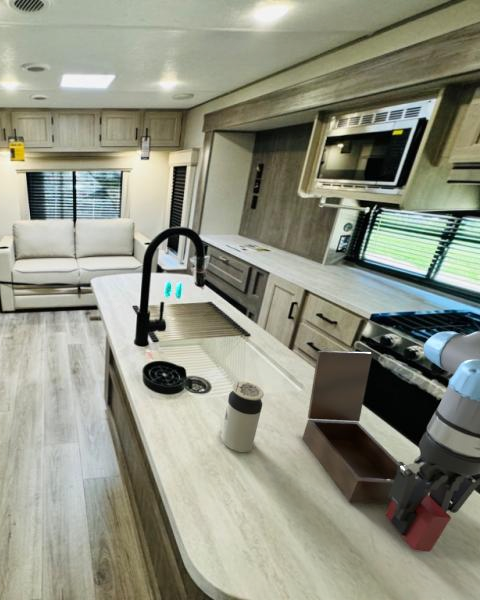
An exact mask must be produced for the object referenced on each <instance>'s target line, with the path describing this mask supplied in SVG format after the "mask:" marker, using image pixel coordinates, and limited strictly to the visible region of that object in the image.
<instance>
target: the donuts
mask: <svg viewBox="0 0 480 600" xmlns="http://www.w3.org/2000/svg"><path fill="white" fill-rule="evenodd" d="M183 288H184V284H183V283H182V282H178V283H177V284H176V287H175V293H174V294H175V297H176V299H181V298H182V296H183ZM172 289H173V285H172V282H171V281H169V280H168V281H166V282H165V285H164V291H163V292H164V297H165V298H169V297H171V295H172V291H173V290H172Z"/></svg>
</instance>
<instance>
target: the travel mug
mask: <svg viewBox="0 0 480 600" xmlns="http://www.w3.org/2000/svg"><path fill="white" fill-rule="evenodd" d="M264 395H265V394H264V391H263V389H262V388H261V387H260V386H258V384H254V383H252V382H250V381H244V380H239V381H235V382H233V383H232V384H231V391H230V393H229V394H228V399H227V403H226V404H227V405H226V408H225V409H226V410H225V415H224V420H223V425H222V430H221V435H220V437H221V440H222V441H221V442H223V444H224V445H225V446H226V447H227V448H229V449H231V450H233V451H236V452H238V453H248V452H250V451H251V450H252V449H253V445H254V441H255V438H256V433H257V429H258V425H259V422H260V418H261V417H260V416H261V412H262V408H263V401H262V399H263V397H264Z"/></svg>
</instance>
